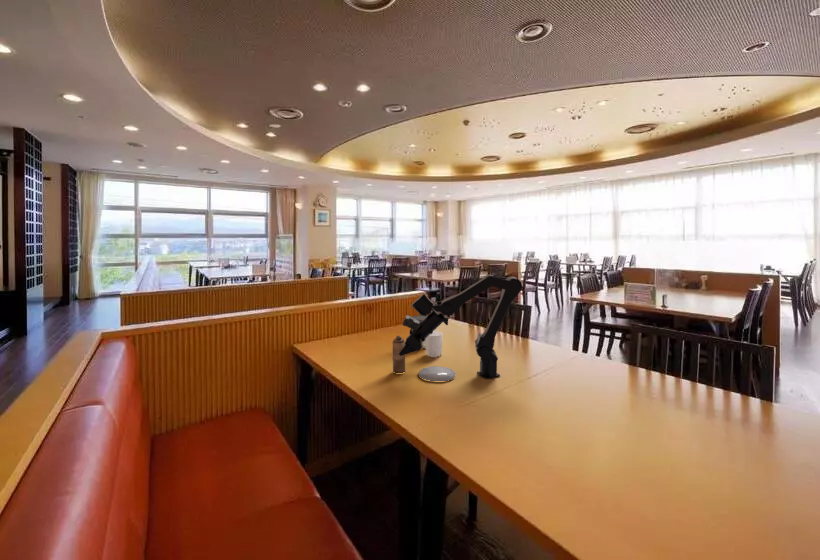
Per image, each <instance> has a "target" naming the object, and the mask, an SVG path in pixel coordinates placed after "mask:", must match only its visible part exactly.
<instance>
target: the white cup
mask: <svg viewBox="0 0 820 560" xmlns="http://www.w3.org/2000/svg"><path fill="white" fill-rule="evenodd" d="M443 336H444V334H443V332H441V331H437V330H434V331H433V333H432V334H430V335H429V336H428V337H427V338H426V339H425V344H426V348H425V355H426V354H427V355H428V356H427V355H426V356H427V357H429V356H432V357H431V358H437V357H436V356H439V357H441V356H442V352H443V351H442V349H443ZM440 355H441V356H440Z"/></svg>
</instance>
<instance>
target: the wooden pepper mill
mask: <svg viewBox="0 0 820 560" xmlns="http://www.w3.org/2000/svg"><path fill="white" fill-rule="evenodd" d="M405 341H406V340H404V338H402V336H401V335H396V337H395V338H393V340H392V373H393V372H395V373H403V372H405V373H406V354H405V355H402V356H400V355H399V353H400V351H401V350H402V349H403V347H404V346H405Z"/></svg>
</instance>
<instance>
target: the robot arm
mask: <svg viewBox="0 0 820 560" xmlns="http://www.w3.org/2000/svg"><path fill="white" fill-rule="evenodd" d="M491 287H493V288H496V289H497V288H498V289H501V293H500V299H499V300H498V302H497V305H496V307H495V309H494V311H493V313H492V315H491V317H490V320H489V322H488V324H487V326H486V328H485V330H484V332H483V333H480V332H478V334H477V337H476V339H475V340H474V345H475V346H474V347H475V352H476V354H477V356H479V358H480V361H479V371H476V374H477V375H479V376H481V378H482V377H483V378H484V379H486V380H488V379H492V378H493V379H495V378H498V377H501V374H499V373H497V372H498V359H499V357H498V355H497V353H496V351H495V350H494V346H495V340H496V336H497V334H498V332H499V329H500V327H501V325H502V323H503V321H504V318H505V316H506V315H507V312H508V310H509V307H510V306H511V304H512V303H513V301H514V300H516V298H517V297H518V296H519V294H520V293H521V291H522V290H523V283H522V282H521V280H520V279H518V278H517V277H515V276H507V277H503V276H497V275H492V274H486V275H485V276H484V277H483V278H481V279H479V280H478V281H477V282H474V284H472V285H470V286H469V287H467V288H465V289H464V290H462V291H461V292H459V293H457V294H454V295H451V296H449V297H445V298H444V299H443V300H442V301H434V302H433V301H432V300H431V299H430V298H429V297H428V296H427V294H426V293H423V294H422V295H420V296H419V297H417V298H416V299H415V301H413V303H412V304H411V305H410V306H411V307H412V308H413V309H414V311H416V312H417V313H418V314H419V315H421V316H422V315H423V316H424V315H425V316H426V315H427V317H426V318H425V319H424V320H421V321H418V320H416V319H414V318H412V316H410V315H405V318H404V320H403V321H402V326H404V327H407V328H409V335H408V336H407V337H406V339H405V340H404V341H405V346H404V347H403V349H402V350H401V351H400V353H399V355H400V356H402V355H405V356H406V355H407V354H411V353H414V352H420V350H421V348H422V341H423V342H424V341H425V339H426V338H427V337H428V336H429V335H430V334H432V333H433V331H436V330H437V328H438V327H440V326H441V325H442V324H443V323H444V325H446V326H448V325H449V320H450V319H449V318H450V317H451V316H453V315H454V314H455V313H456V312H458V311H459V310H460V308H462V306H463V305H464V304H465V303H467V302H468V301H470V300H471V299H473V298H474V297H477V296H478V295H480V294H481V293H483V292H484V291H486V290H488V289H489V288H491ZM412 329H413V330H412ZM421 340H422V341H421Z"/></svg>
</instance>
